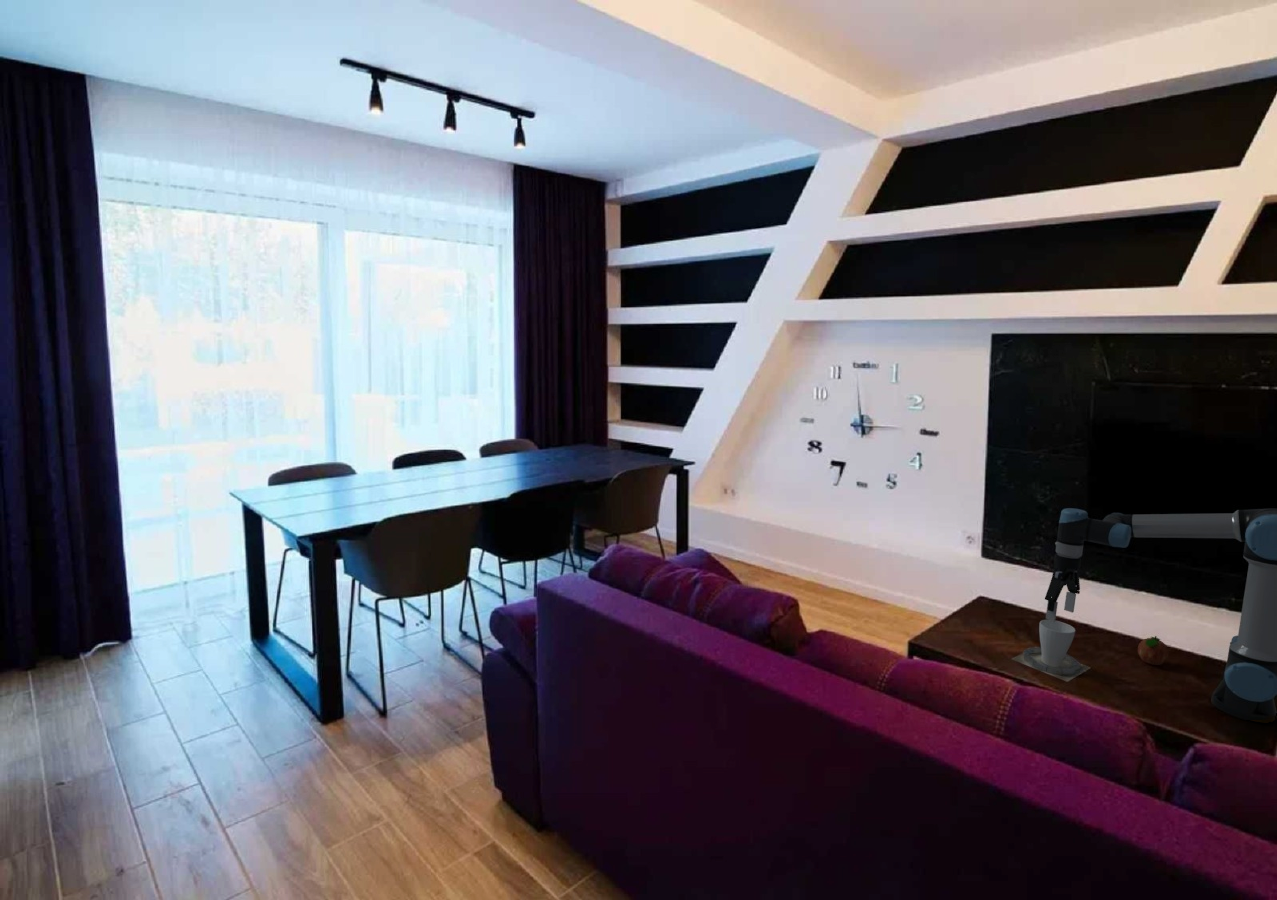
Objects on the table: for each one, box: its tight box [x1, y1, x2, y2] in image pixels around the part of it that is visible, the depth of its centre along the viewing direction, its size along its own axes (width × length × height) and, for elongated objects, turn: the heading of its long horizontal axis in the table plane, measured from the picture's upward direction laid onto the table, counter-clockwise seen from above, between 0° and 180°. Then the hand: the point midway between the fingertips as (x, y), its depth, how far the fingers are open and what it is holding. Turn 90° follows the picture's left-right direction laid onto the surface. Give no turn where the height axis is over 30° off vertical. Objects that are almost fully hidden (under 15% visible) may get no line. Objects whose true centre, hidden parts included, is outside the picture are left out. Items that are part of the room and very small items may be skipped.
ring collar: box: [1022, 646, 1081, 675], centre depth 235 cm, size 16×16×2 cm
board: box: [1011, 652, 1092, 682], centre depth 235 cm, size 18×18×1 cm
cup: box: [1038, 619, 1076, 667], centre depth 234 cm, size 10×10×14 cm
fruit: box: [1137, 635, 1169, 666], centre depth 241 cm, size 9×10×10 cm
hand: (1059, 615), depth 232 cm, fingers open, 13 cm apart
